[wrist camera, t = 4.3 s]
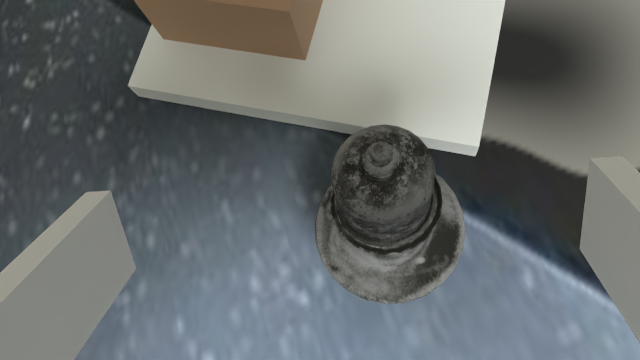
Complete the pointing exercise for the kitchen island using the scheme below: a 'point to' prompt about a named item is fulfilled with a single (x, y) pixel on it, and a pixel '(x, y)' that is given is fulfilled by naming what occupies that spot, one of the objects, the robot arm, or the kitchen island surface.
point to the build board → (328, 62)
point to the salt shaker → (388, 218)
